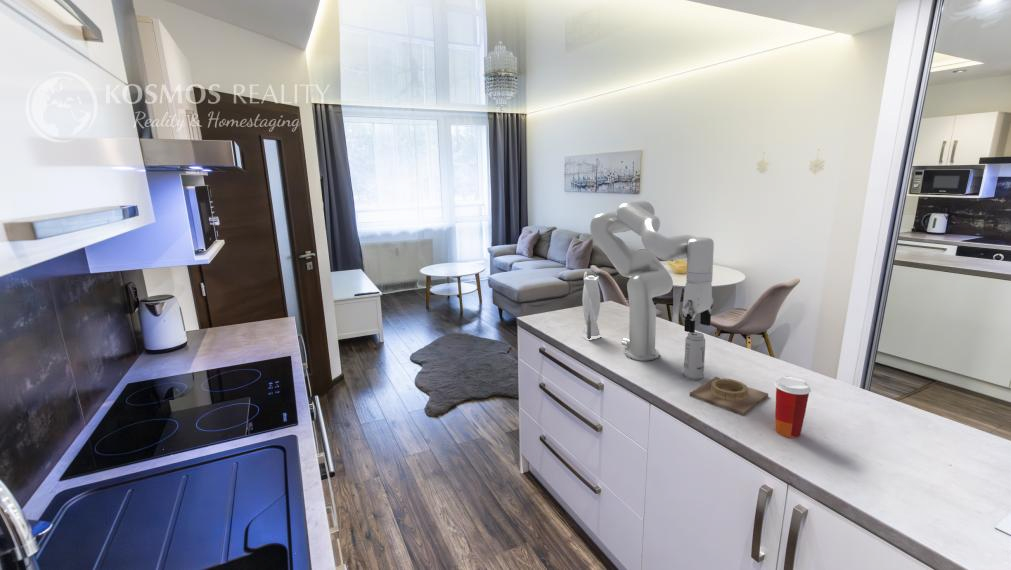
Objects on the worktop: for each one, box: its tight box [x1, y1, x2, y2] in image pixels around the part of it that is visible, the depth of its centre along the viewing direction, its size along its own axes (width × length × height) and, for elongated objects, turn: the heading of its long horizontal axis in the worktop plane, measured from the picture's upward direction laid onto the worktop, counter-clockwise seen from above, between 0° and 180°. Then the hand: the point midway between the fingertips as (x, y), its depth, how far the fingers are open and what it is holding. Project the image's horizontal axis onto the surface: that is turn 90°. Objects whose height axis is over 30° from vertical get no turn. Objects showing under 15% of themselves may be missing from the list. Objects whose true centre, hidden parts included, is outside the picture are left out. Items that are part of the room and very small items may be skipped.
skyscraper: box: [581, 271, 601, 339], centre depth 186 cm, size 8×8×28 cm
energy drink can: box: [683, 331, 706, 381], centre depth 146 cm, size 6×6×15 cm
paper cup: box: [774, 376, 812, 439], centre depth 113 cm, size 8×8×14 cm
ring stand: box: [689, 376, 769, 416], centre depth 133 cm, size 16×16×4 cm
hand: (697, 328), depth 143 cm, fingers open, 9 cm apart
